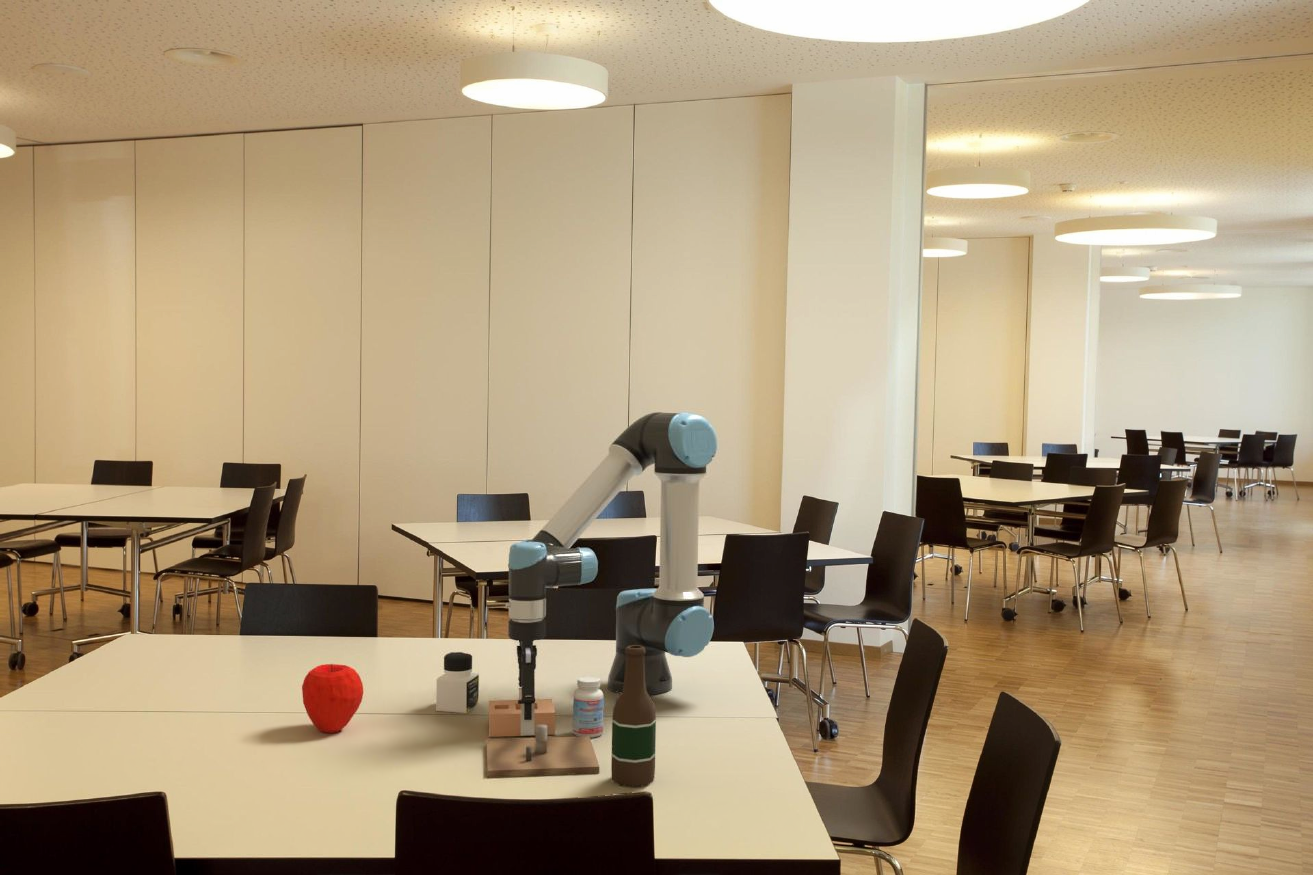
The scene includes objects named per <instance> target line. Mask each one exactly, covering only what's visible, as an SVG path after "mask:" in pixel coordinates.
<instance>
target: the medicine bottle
mask: <svg viewBox="0 0 1313 875" xmlns="http://www.w3.org/2000/svg"><path fill="white" fill-rule="evenodd" d="M479 678H480V676H479V673H478V672H473V655H472V654H471V653H469V652H466V651H452V652H449V653H447V654H445V655H444V657H443V674H442V675H440V676H438V678H436V682H435V684H436V688H435V690H436V691H435V692H436V693H435V694H436V696H435V697H436V700H435V701H436V702H435V703H436V704H435V710H436V712H445V713H454V714H455V713H458V714H467V713H469V712H470V711H472V710H473V709H475V708H476V707H477V706H478V705H479V693H480V692H479V690H480V688H479V686H480V683H479V682H480V679H479Z"/></svg>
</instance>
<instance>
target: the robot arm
mask: <svg viewBox="0 0 1313 875" xmlns="http://www.w3.org/2000/svg"><path fill="white" fill-rule="evenodd" d="M717 449H718V437H717V433H716V431H715V429H714V427H713V426H712V424H711V423H710V422H709V421H708V420H707V419H706V418H704V416H701V415H698V414H694V413H690V412H680V413H679V412H678V413H677V412H676V413H675V412H651V413H647V414H646V415H645V414H644V415H643V416H642V417H640V418H638V419H637V420H635V421H634V422H632V423H631V424H630V425H629V426H628V427H627V428H625V430H623V431H622V433H620V434H619V435H618V436H617V438H615V440H614V441H613V442H612V443H611V444H610V445H609V447H608V454H607V456H605V457H604V459H603V460H602V461H601V462H599V465H597V466H596V468H595V469H594V470H593V471H592V472H591V473H590V475H588V476H587V478H586V479H585V480H584V481H583V482H582V483H581V484H580V486H578V488H577V489H576V490H575V491H574V492H573V494H571V496H570V497H568V499H567V500H566V501H565V502H564V503H563V504H562V506H560V508H559V509H557V511H556V513H554V514H553V516H552V517H551V518H550V519H549V520H548V521H547V522H546V524H544V525H543V527H542V528H541V529H540V530H539V531H538V533H537V534H536V535H534V536H533V538H532V539H525V540H522V541H519V542H514V543H512V544H511V546H509V553H508V564H507V567H508V601H509V602H506V603H505V607H506V608H508V617H509V618H510V619H509V620H508V622H507V623H508V628H507V629H508V630H507V631H508V632H507V633H508V634H507V636H508V638H509V639H511V640H513V641H516V642H517V641H518V642H519V645H516V655H517V656H516V657H517V664H518V686H519V687H518V699H517V700H518V704H521V736H523V735H529V736H535V735H534V711H535V699H536V695H535V692H536V691H535V689H536V688H535V686H536V684H535V683H536V682H535V674H536V672H535V671H536V668H537V656H538V654H537V653H538V647H537V645H536V644H535V645H534V641H539V640H542V639H545V637H546V620H545V619H544V618H545V617H546V616H547V598H546V597H547V596H546V594H547V588H556V587H564V586H565V587H566V586H577V585H578V586H581V585H582V584H587V583H591V582H592V581H594V580H595V579H596V576H597V575H598V571H599V569H598V566H599V565H598V564H599V560H598V559H597V556H596V554H595V552H594V551H593V550H592V549H591V548H589V547H579V546H578V547H575V548H571V547H572V546H573V545H574V544H575V543H576V542H577V540H578V539H579V538H580V537H581V536H582V535H583V534H584V533H585V531H586V530H587V529H588V528H589V527H590V526H591V525H592V524H593V522H594V521H595V520H596V518H598V516H600V514H601V513H602V512H603V511H604V510H605V508H607V507H608V505H610V503H611V502H612V501H613V500H614V499H615V497H616V496H617V495H618V494H619V493H620V492H621V490H622V489H623V488H624V487H625V486H626V484H628V482H629V481H631V479H632V478H633V477H634V476H640V475H641V474H642V473H643V472H644V471H645V470H646V469H647V468H649V467H650V466H652V465H654V470H653V471H654V474H655V476H656V477H657V478H658V479H659V480H660V518H659V519H660V524H659V525H660V527H659V534H660V535H659V574H658V575H659V577H658V580H659V586H658V587H657V588H639V589H630V590H629V589H628V590H622V591H620V592H619V594H618V595H617V596H616V605H615V611H616V612H615V613H616V614H615V617H616V622H615V623H616V624H615V655H614V659H613V662H612V665H611V667H610V670H609V674H608V677H607V687H608V689H609V690H611V691H612V692H615V693H619V694H621V693H622V691H623V686H624V677H625V664H626V653H624V652H625V649H626V647H628V646H630V645H640V646H642V647H645V651H646V653H645V654H644V663H645V684H646V690H647V693H648V694H649V696H650V695H658V694H663V693H666V692H669V691H670V690H672V689H673V676H672V673H671V669H670V666H669V663H668V660H667V656H666V654H667V653H668V654H670V655H671V656H674V657H675V656H676V657H683V658H691V657H692V658H693V657H695V656H697V655H699V654H700V653H702V652H703V651H704V650H705V647H706V646H708V645H709V643H710V642H711V639H712V637H713V633H714V629H715V626H714V625H715V624H714V619H713V616H712V614H711V613H710V611H709V610H708V609H707V608H705V606H704V604H705V595H704V593H703V592H702V591H701V590H700V589H699V587H698V572H699V570H698V565H699V522H700V521H699V517H700V516H699V509H700V504H699V503H700V482H701V480H702V479H703V478H704V477H705V476H706V475H707V465H709V464H710V463H711V462H712V461H713V458H714V457H715V456H716V453H717V451H718V450H717ZM523 737H524V736H523Z"/></svg>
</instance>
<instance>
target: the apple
mask: <svg viewBox="0 0 1313 875" xmlns="http://www.w3.org/2000/svg"><path fill="white" fill-rule="evenodd" d="M301 690H302V692H301V693H302V701H303V706H304V709H305V712H306V714H307V716H308V718H309V720H310V721H311V723H312V725H313V726H314V727H315V728H316V729H317V730H318V731H320V732H322V733H329V734H333V733H338V732H339V731H340V732H341V731H342V730H343V729H344V728H345V727H347V725H348V724H349V723H350V721H351V720H352V718H353V717H354V715H355V714H356V712H358V710H359V707H360V705H361V704H362V701H363V696H364V684H363V681H362V679H361V676H360V674H359V672H357V671H356V669H354V668H353V667H350V666H349V665H346V664H345V665H344V664H337V663H329V664H328V663H327V664H319V665H317V666H315V667H314V668H312V669H311V670H309V671H308V673H307V674H306V676H305V677H304V678H303V682H302V685H301Z"/></svg>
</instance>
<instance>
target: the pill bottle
mask: <svg viewBox="0 0 1313 875" xmlns="http://www.w3.org/2000/svg"><path fill="white" fill-rule="evenodd" d="M576 681H577V684H576V685H577V689H576V690H575V691H574V692H573V700H572V701H573V707H572V709H573V711H572V712H573V713H572V734H574V736H575V737H581V736H589V737H590V739H591V738H597V737H600V736H602V734H603V731H604V730H603V729H604V726H603V725H604V693H603V691H602V689H600V687H601V678H599V677H597V676H589V675H588V676H581V677H578V678H577V680H576Z"/></svg>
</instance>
